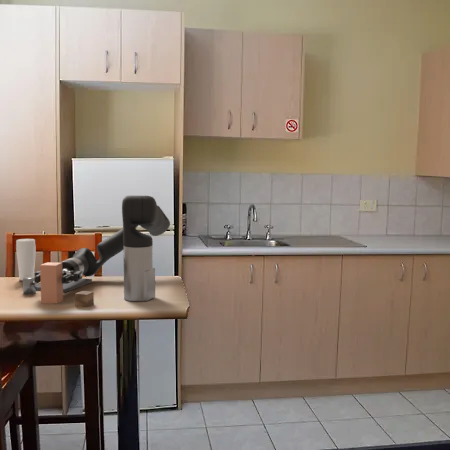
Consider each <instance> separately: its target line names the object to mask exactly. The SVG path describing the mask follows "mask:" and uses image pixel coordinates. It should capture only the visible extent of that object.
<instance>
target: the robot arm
mask: <svg viewBox="0 0 450 450" xmlns="http://www.w3.org/2000/svg"><path fill="white" fill-rule="evenodd" d="M121 215H122V217H121V218H122V227H121V228H120V229H119V230H118V231H117V232H115V233H113V234H111V236H109V237H107V238H105V239H103V240H102V241H101V242H99V243H98V244H97V245H96V251H97V253H98V256H99V257H98V259H97V258H96V256H95V255H94V254H93V252H92V251H91V249H89V248H87V247H82V248H79V249H78V250H77V251H75V253H74V254H73V255H72V257H70V258H66V259H64V260H62V261H60V262H59V263H62V275H63V277H62V284H67V283H70V282H72V281H75V282H77V281H79V280H80V279H82V278H83V277H84V276H85V277H91V276H94V275H96V273H97V272H99V270H100V269H101V268H102V266H103V265H104V264H105V263H106V262H107V261H109V260H110V259H112V258H113V257H115V256H116V255H118V254H119V253H121V252H123V299H124V301H125V300H126V301H128V302H130V301H131V302H149V301H150V300H152V299H154V298H155V297H156V269H155V268H154V267H153V262H154V261H153V260H154V259H153V254H154V253H153V238H152V236H153V237H158V236H160V235H163V234H164V233H165V232H167V231H168V229H169V228H170V225H171V222H170V219H169V218H168V217H167V215H166V214H165V212H164V211H163V209H162V208H161V206H159V205H158V204H157V201H156V199H155V197H153V196H150V195H125V196H124V197H123V199H122V202H121ZM138 226H140V227H141V228H142V229H145V230H146V231H148V233H149V234H150V235H151V236H150V235H148V234H146V233H143V232H141V231H139V230H138V229H137V228H138ZM34 277H35V283H36V284H39V283H41V278H40V270H38V271H36V272H35V271H34Z"/></svg>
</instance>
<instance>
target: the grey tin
mask: <svg viewBox="0 0 450 450" xmlns="http://www.w3.org/2000/svg"><path fill="white" fill-rule="evenodd" d="M36 284H37V283H35V276H34V277H25V278H23V281H22V292H23V293H22V294H23V295H34V294H37V293H36V292H37V290H36Z"/></svg>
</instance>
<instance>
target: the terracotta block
mask: <svg viewBox="0 0 450 450" xmlns="http://www.w3.org/2000/svg"><path fill="white" fill-rule="evenodd" d="M39 267H40V270H39V271H40V278H41V282H40V283H41V290H40V301H41V302H40V303H41V304H50V303H57V304H59V303H61V302H62V301H64V292H63V284H62V277H63V275H62V263H60V262H48V261H47V262H45V263H42V264H39ZM58 302H59V303H58Z"/></svg>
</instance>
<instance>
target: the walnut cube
mask: <svg viewBox="0 0 450 450" xmlns="http://www.w3.org/2000/svg"><path fill="white" fill-rule="evenodd" d="M94 295H95V294H94V291H89V290H81V291H79V292H75V293H74V301H75V304H74V305H75V307H80V308H88V307H92V306H93V305H94V304H95V302H94V301H95V300H94Z"/></svg>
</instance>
